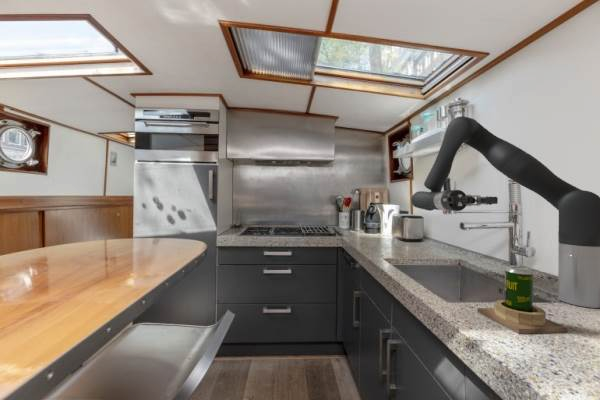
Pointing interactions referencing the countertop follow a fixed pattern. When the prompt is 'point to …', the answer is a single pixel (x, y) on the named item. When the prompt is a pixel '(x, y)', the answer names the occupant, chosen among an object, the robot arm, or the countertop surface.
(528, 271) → the beer can
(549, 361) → the countertop surface
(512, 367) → the countertop surface
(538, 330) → the socket board
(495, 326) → the countertop surface
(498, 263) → the countertop surface
